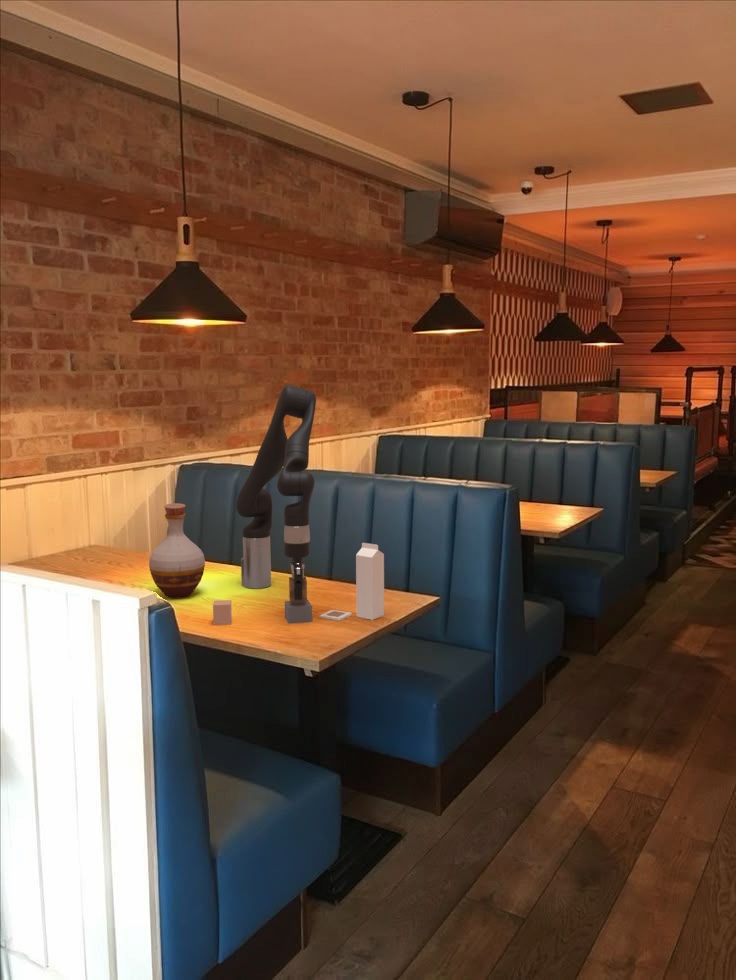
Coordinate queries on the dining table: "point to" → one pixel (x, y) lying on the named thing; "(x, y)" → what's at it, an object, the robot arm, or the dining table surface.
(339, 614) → the tile
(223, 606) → the terracotta block
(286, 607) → the charcoal block
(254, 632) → the dining table surface
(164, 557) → the jug
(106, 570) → the dining table surface
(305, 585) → the walnut block
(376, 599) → the milk
